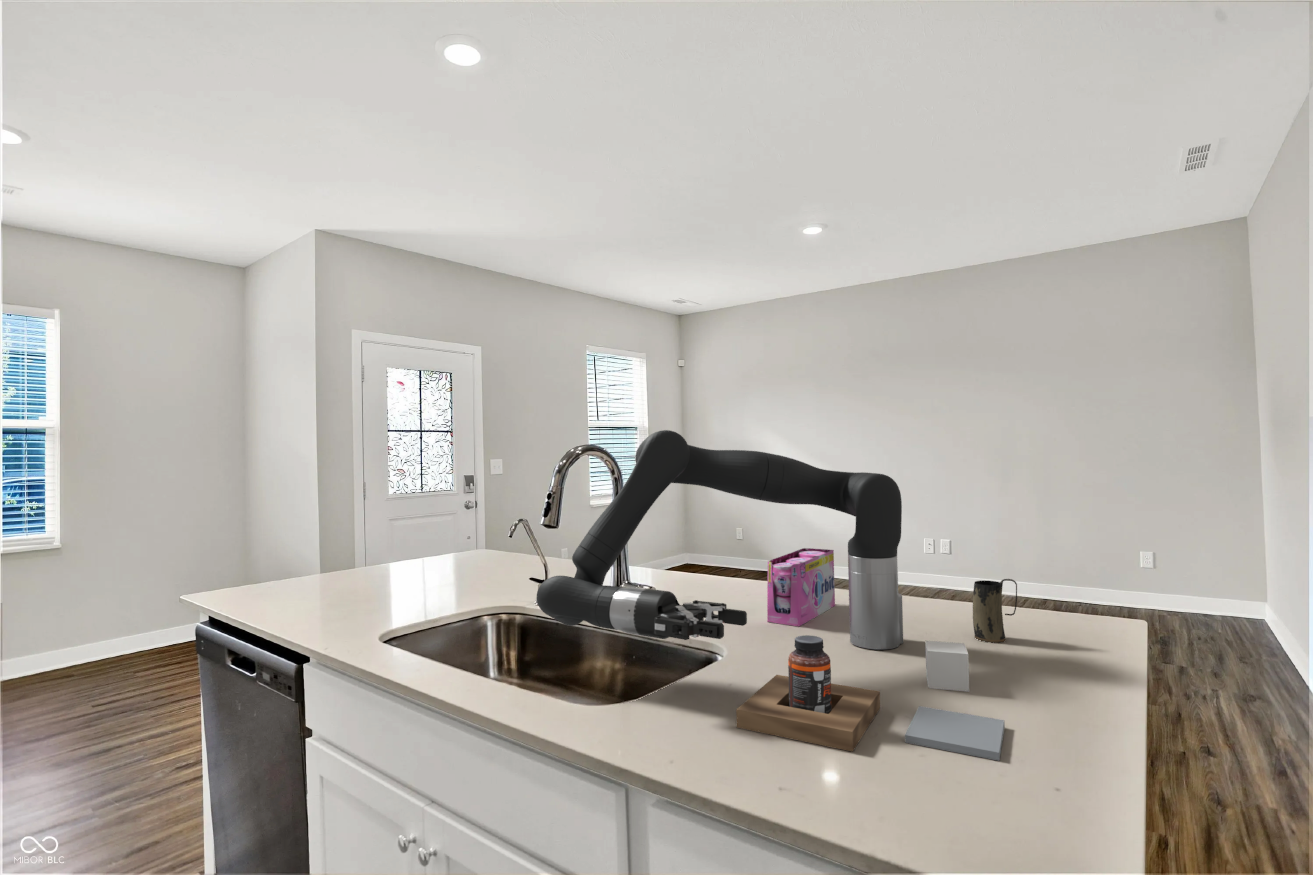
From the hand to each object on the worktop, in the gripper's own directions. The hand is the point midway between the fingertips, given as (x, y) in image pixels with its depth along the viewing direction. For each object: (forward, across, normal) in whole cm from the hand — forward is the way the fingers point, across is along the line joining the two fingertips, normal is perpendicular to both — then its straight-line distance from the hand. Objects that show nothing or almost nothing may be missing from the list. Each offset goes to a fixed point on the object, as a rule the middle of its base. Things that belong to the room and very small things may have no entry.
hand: (735, 624), depth 102 cm
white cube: (+27, +24, +12) cm, 38 cm away
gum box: (-8, +58, +12) cm, 59 cm away
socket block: (+12, 0, +12) cm, 16 cm away
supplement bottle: (+12, 0, +12) cm, 17 cm away
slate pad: (+30, +4, +12) cm, 33 cm away
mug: (+32, +54, +11) cm, 64 cm away
